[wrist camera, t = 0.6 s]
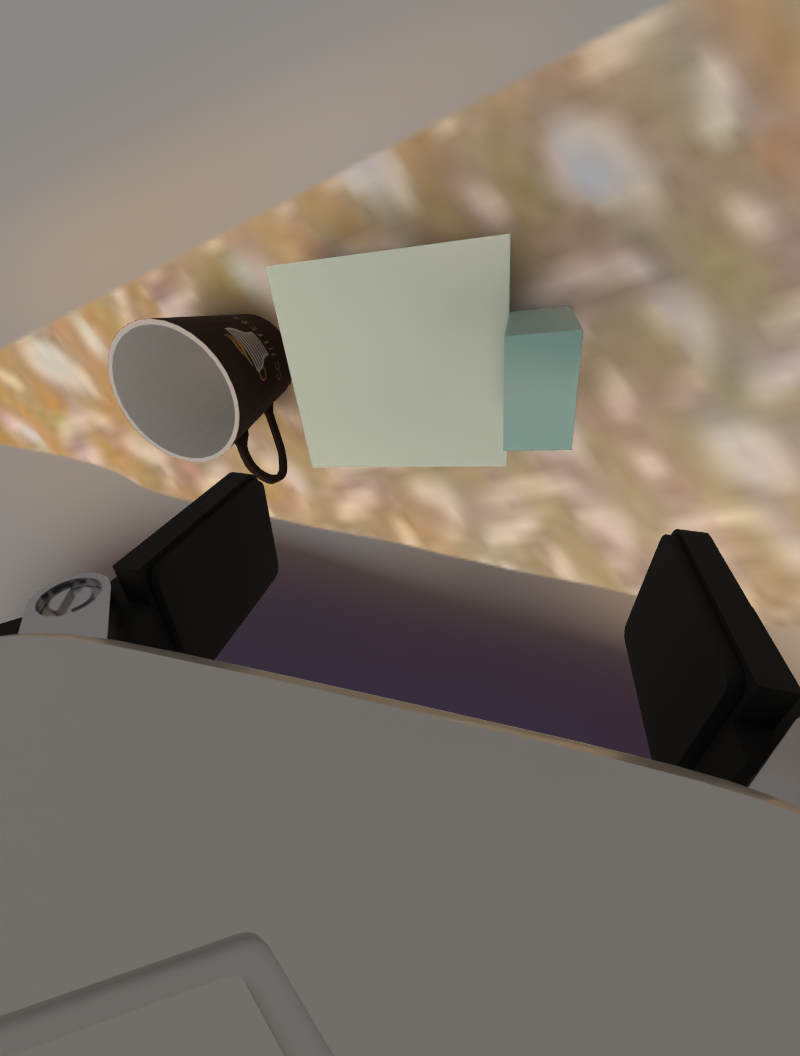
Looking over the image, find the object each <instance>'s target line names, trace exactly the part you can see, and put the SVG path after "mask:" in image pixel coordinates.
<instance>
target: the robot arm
mask: <svg viewBox="0 0 800 1056" xmlns="http://www.w3.org/2000/svg"><path fill="white" fill-rule="evenodd" d="M113 568H114V570H115V573H116V575H117V577H116V578H115V579H113V580H112V581H111V582H110V580H109V579H108V578H107V577H106V576H104V575H101V574H97V573H83V574H77V575H72V576H69V577H66V578H62V579H60V580H57V581H55V582H53V583H51V584H49V585H47V586H46V587H44V588H43V589H41V590H40V591H38V592H37V593H36V594H35V595H34V596H33V597H32V598H31V599H30V600H29V602H28V604H27V606H26V608H25V611H24V615H23V617H21V618H18V619H15V620H11V621H8V622H5V623H2V624H0V1056H800V687H799V685H798V683H797V681H796V680H795V678H794V676H793V675H792V673H791V671H790V670H789V668H788V666H787V664H786V663H785V661H784V659H783V658H782V656H781V654H780V653H779V651H778V649H777V647H776V646H775V644H774V643H773V641H772V639H771V637H770V636H769V634H768V632H767V630H766V629H765V627H764V625H763V624H762V622H761V620H760V618H759V617H758V615H757V613H756V612H755V610H754V608H753V607H752V606H751V605H750V603H749V601H748V600H747V598H746V596H745V594H744V593H743V591H742V589H741V588H740V586H739V584H738V582H737V581H736V579H735V577H734V576H733V574H732V572H731V571H730V569H729V567H728V565H727V564H726V562H725V560H724V559H723V557H722V555H721V553H720V552H719V550H718V548H717V547H716V545H715V543H714V541H713V540H712V538H711V536H710V535H709V534H708V533H704V532H696V531H688V530H680V529H676V530H674V531H673V533H672V534H671V535H666V534H665V535H663V536H662V538H661V540H660V542H659V544H658V547H657V549H656V552H655V554H654V557H653V559H652V561H651V564H650V566H649V569H648V571H647V574H646V576H645V579H644V581H643V584H642V586H641V589H640V591H639V593H638V596H637V598H636V601H635V603H634V606H633V608H632V611H631V613H630V616H629V618H628V620H627V623H626V626H625V634H624V635H625V636H624V637H625V643H626V647H627V652H628V657H629V661H630V665H631V670H632V674H633V679H634V683H635V688H636V692H637V696H638V701H639V705H640V710H641V714H642V718H643V723H644V727H645V732H646V736H647V741H648V745H649V749H650V754H651V758H652V760H651V759H647V758H643V757H639V756H634V755H630V754H626V753H622V752H618V751H614V750H610V749H606V748H601V747H597V746H594V745H589V744H585V743H581V742H577V741H573V740H568V739H564V738H559V737H555V736H551V735H547V734H542V733H538V732H534V731H529V730H525V729H520V728H516V727H512V726H507V725H503V724H498V723H494V722H489V721H485V720H481V719H476V718H472V717H468V716H464V715H459V714H455V713H450V712H446V711H442V710H437V709H433V708H428V707H423V706H419V705H415V704H411V703H406V702H402V701H397V700H392V699H388V698H384V697H379V696H375V695H370V694H366V693H361V692H357V691H352V690H348V689H343V688H339V687H334V686H330V685H325V684H320V683H316V682H312V681H307V680H303V679H298V678H294V677H289V676H285V675H280V674H275V673H271V672H266V671H261V670H257V669H252V668H248V667H243V666H238V665H234V664H229V663H225V662H220V661H216V660H215V658H216V657H217V656H218V654H219V653H220V651H221V650H222V649H223V648H224V646H225V645H226V643H227V642H228V641H229V640H230V638H231V637H232V635H233V634H234V632H235V631H236V630H237V628H238V627H239V626H240V625H241V623H242V622H243V621H244V619H245V618H246V617H247V615H248V614H249V613H250V611H251V610H252V609H253V607H254V606H255V605H256V603H257V602H258V601H259V599H260V598H261V597H262V595H263V594H264V593H265V591H266V590H267V589H268V587H269V586H270V585H271V583H272V582H273V580H274V579H275V577H276V575H277V573H278V560H277V555H276V549H275V544H274V538H273V533H272V528H271V522H270V517H269V511H268V506H267V500H266V495H265V489H264V485H263V483H262V482H260V481H258V479H257V477H256V476H255V475H252V474H244V473H236V472H231V473H229V474H228V475H226V476H225V477H224V478H223V479H221V480H220V481H219V482H218V483H216V484H215V485H214V486H213V487H211V488H210V489H209V490H208V491H206V492H205V493H204V494H203V495H201V496H200V497H199V498H197V499H196V500H195V501H194V502H192V503H191V504H190V505H189V506H187V507H186V508H185V509H184V510H182V511H181V512H180V513H179V514H177V515H176V516H175V517H174V518H172V519H171V520H170V521H168V522H167V523H166V524H165V525H163V526H162V527H161V528H160V529H159V530H157V531H156V532H155V533H154V534H152V535H151V536H150V537H148V538H147V539H146V540H145V541H143V542H142V543H141V544H140V545H138V546H137V547H136V548H134V549H133V550H132V551H131V552H129V553H128V554H127V555H126V556H124V557H123V558H122V559H121V560H119V561H118V562H117V563H116V564H114V565H113Z"/></svg>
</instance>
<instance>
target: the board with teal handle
mask: <svg viewBox="0 0 800 1056" xmlns="http://www.w3.org/2000/svg"><path fill="white" fill-rule="evenodd" d="M510 260H511V233H510V234H502V235H495V236H487V237H480V238H472V239H465V240H458V241H450V242H443V243H435V244H428V245H420V246H413V247H406V248H398V249H391V250H383V251H376V252H368V253H361V254H354V255H346V256H339V257H331V258H324V259H316V260H309V261H302V262H294V263H287V264H279V265H272V266H265V269H266V273H267V277H268V281H269V286H270V290H271V294H272V298H273V303H274V307H275V311H276V315H277V319H278V324H279V328H280V332H281V336H282V341H283V345H284V349H285V353H286V357H287V362H288V366H289V370H290V374H291V379H292V383H293V387H294V391H295V396H296V400H297V404H298V408H299V412H300V417H301V421H302V425H303V429H304V434H305V438H306V442H307V446H308V451H309V455H310V459H311V463H312V467H507V451H528V450H572V441H573V430H574V420H575V410H576V399H577V389H578V379H579V368H580V358H581V348H582V338H583V329H582V327H581V325H580V323H579V322H578V320H577V318H576V317H575V315H574V313H573V311H572V310H571V308H570V306H564V307H553V308H542V309H531V310H520V311H510Z"/></svg>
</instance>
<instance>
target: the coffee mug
mask: <svg viewBox="0 0 800 1056" xmlns="http://www.w3.org/2000/svg"><path fill="white" fill-rule="evenodd" d="M108 372H109V379H110V383H111V386H112V390H113V393H114V395H115V398H116V400H117V402H118V404H119V406H120V408H121V410H122V411H123V413H124V415H125V416H126V418H127V419H128V421H129V422H130V423H131V424H132V426H133V427H134V428H135V429H136V430H137V431H138V432H139V433H140V434H141V435H142V436H143V437H144V438H145V439H146V440H147V441H148V442H149V443H151V444H152V445H153V446H155V447H156V448H157V449H159V450H161V451H163V452H164V453H166V454H168V455H170V456H172V457H175V458H178V459H180V460H184V461H190V462H206V461H211V460H214V459H216V458H218V457H220V456H222V455H223V454H224V453H225V452H226V451H227V450H228V449H229V448H230V447H231V446H232V445H233V444H234V443H235V444H236V446H237V448H238V451H239V453H240V456H241V458H242V460H243V462H244V464H245V466H246V467H247V469H248V470H249V471H250V472H251V473H252V474H254V475H255V476H256V477H257V478H259V479H260V480H262V481H264V482H266V483H269V484H274V483H276V482H279V481H281V480H282V479H284V478H285V476H286V473H287V458H286V453H285V448H284V444H283V441H282V438H281V435H280V432H279V429H278V426H277V423H276V420H275V417H274V414H273V403H274V401H275V400H276V399H277V398H278V397H279V396H280V395H281V394H282V393H283V392H284V391H285V390H286V389H287V387H288V386H289V384H290V382H291V374H290V370H289V366H288V362H287V357H286V353H285V349H284V345H283V341H282V336H281V333H280V331H279V330H278V329H277V328H276V327H275V326H274V325H272V324H271V323H270V322H268V321H267V320H265V319H263V318H261V317H258V316H256V315H250V314H240V315H218V316H195V317H173V318H151V319H141V320H136V321H134V322H131V323H129V324H127V325H126V326H124V327H123V328H122V329H121V330H120V331H118V333H117V335H116V336H115V338H114V339H113V341H112V344H111V347H110V350H109V356H108ZM263 413H265V415H266V417H267V420H268V423H269V426H270V429H271V432H272V435H273V438H274V441H275V444H276V448H277V451H278V455H279V472H278V474H277V475H271V474H268V473H266V472H264V471H263V470H261V469H260V468H259V467H258V466H257V465H256V464H255V462H254V461H253V459H252V457H251V456H250V454H249V451H248V447H247V442H248V435H249V433H248V429H249V428H250V427H251V426H252V424H253V423H254V422H255V421H256V420H257V419H258V418H259V417H260V416H261V415H262V414H263Z"/></svg>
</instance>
